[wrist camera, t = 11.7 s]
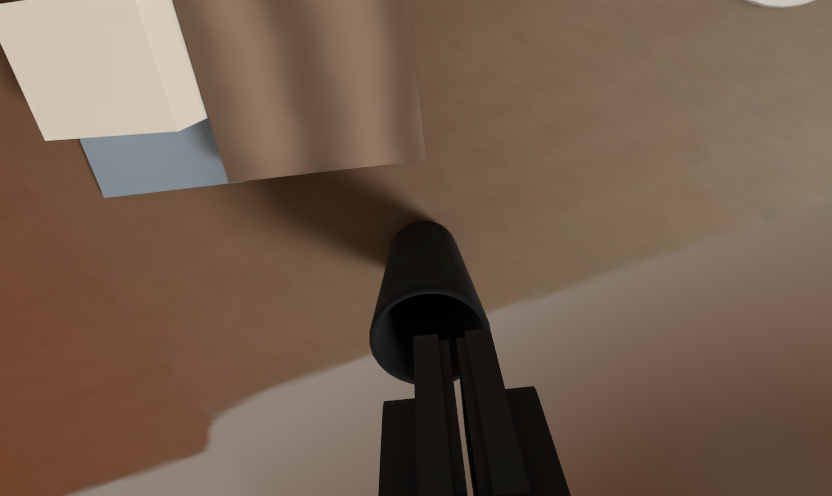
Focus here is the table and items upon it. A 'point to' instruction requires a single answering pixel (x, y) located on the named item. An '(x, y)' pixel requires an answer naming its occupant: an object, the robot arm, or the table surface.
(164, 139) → the mat
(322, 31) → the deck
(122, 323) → the table surface
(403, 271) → the cup
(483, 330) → the robot arm
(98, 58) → the cream rectangular block
